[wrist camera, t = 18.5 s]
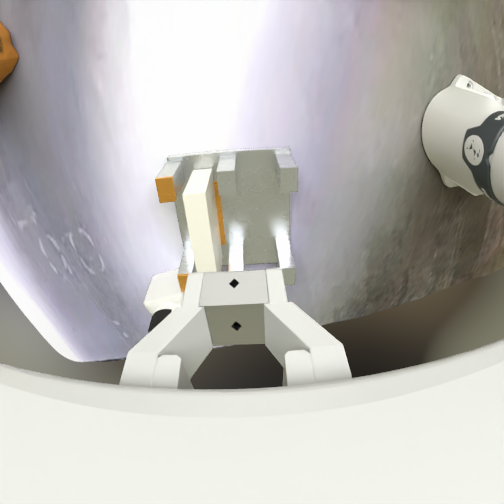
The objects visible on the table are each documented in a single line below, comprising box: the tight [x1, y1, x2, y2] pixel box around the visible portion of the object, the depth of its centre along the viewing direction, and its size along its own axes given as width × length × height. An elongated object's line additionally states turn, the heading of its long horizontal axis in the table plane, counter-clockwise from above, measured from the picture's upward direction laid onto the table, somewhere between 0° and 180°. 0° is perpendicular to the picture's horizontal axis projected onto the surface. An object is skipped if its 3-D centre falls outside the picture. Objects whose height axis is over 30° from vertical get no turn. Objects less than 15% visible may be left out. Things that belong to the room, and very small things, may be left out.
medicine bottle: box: [144, 268, 184, 333], centre depth 46 cm, size 7×7×12 cm
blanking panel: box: [182, 168, 223, 272], centre depth 38 cm, size 2×14×8 cm, turn 3°
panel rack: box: [155, 146, 298, 292], centre depth 40 cm, size 16×18×8 cm
